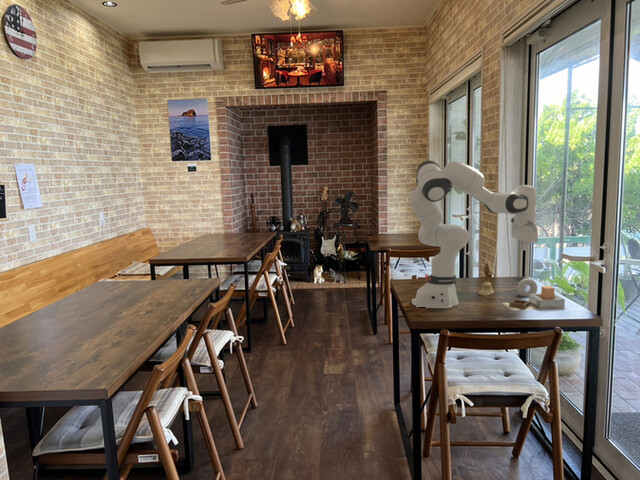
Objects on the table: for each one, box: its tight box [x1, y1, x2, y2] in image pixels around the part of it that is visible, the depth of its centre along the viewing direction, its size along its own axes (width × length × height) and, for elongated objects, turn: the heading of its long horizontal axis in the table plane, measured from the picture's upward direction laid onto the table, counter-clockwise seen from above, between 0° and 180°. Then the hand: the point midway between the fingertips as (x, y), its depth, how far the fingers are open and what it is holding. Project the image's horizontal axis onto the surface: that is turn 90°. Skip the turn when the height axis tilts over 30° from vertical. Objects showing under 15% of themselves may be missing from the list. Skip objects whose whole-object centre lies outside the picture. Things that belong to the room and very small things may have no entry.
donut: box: [516, 278, 538, 297], centre depth 229 cm, size 10×3×10 cm, turn 93°
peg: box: [540, 285, 556, 299], centre depth 210 cm, size 4×4×8 cm
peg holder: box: [508, 298, 530, 309], centre depth 212 cm, size 7×7×2 cm
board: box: [501, 302, 563, 312], centre depth 212 cm, size 24×12×2 cm, turn 89°
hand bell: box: [478, 263, 495, 297], centre depth 240 cm, size 8×8×16 cm
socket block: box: [528, 292, 566, 310], centre depth 211 cm, size 11×11×4 cm
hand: (523, 249), depth 216 cm, fingers closed
